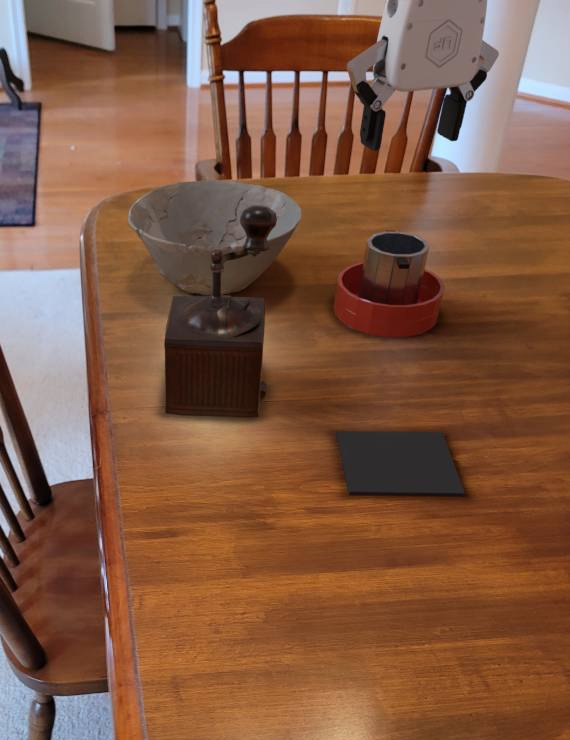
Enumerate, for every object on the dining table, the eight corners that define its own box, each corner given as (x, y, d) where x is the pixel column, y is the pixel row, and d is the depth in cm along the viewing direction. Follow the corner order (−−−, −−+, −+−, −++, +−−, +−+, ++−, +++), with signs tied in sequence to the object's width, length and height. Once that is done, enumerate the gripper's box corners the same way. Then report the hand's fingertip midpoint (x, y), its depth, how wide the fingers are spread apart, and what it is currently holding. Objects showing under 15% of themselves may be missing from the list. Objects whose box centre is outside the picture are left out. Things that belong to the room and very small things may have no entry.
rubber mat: (441, 438, 87) (442, 432, 87) (463, 499, 80) (465, 493, 79) (335, 437, 88) (336, 431, 87) (348, 498, 80) (349, 491, 80)
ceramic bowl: (298, 253, 121) (306, 182, 115) (287, 329, 105) (295, 252, 98) (149, 243, 124) (147, 174, 118) (115, 316, 108) (111, 240, 101)
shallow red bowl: (425, 292, 112) (432, 260, 109) (446, 341, 102) (454, 307, 99) (328, 292, 112) (332, 259, 109) (340, 340, 103) (345, 306, 100)
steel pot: (406, 294, 110) (419, 227, 104) (420, 331, 103) (436, 261, 97) (351, 293, 111) (362, 226, 105) (362, 330, 103) (374, 260, 97)
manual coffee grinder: (265, 422, 90) (279, 261, 78) (163, 417, 91) (161, 257, 78) (266, 349, 101) (279, 199, 89) (175, 345, 102) (175, 196, 90)
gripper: (384, -35, 76) (355, 162, 87) (544, -45, 80) (495, 144, 91) (345, -47, 81) (322, 139, 93) (497, -56, 85) (457, 124, 97)
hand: (408, 142), depth 92 cm, fingers open, 9 cm apart
